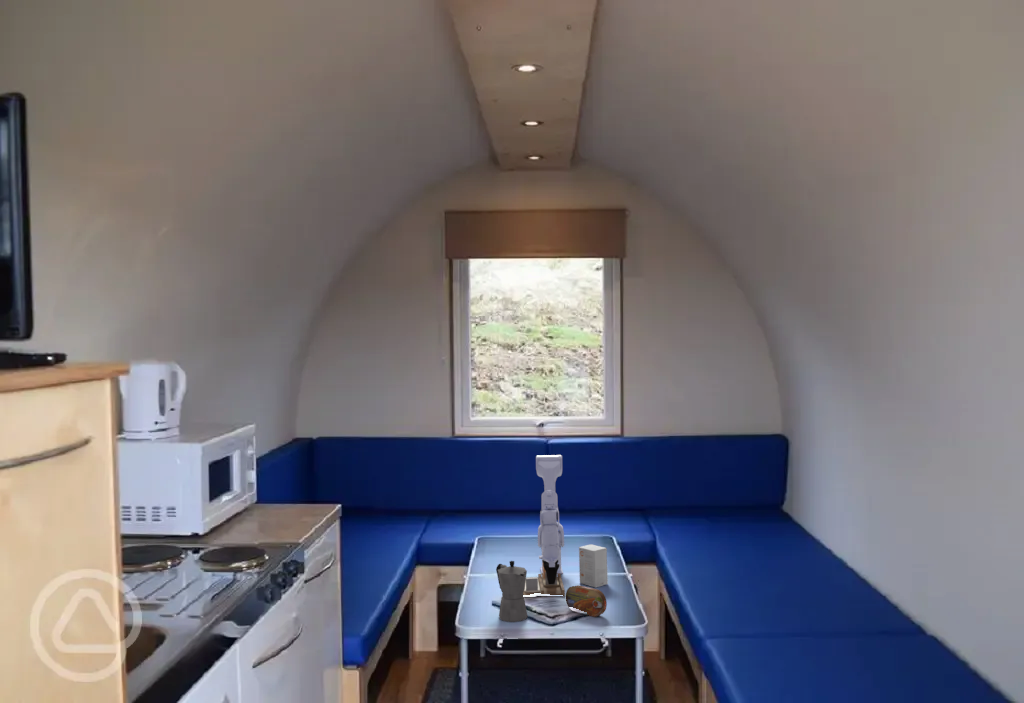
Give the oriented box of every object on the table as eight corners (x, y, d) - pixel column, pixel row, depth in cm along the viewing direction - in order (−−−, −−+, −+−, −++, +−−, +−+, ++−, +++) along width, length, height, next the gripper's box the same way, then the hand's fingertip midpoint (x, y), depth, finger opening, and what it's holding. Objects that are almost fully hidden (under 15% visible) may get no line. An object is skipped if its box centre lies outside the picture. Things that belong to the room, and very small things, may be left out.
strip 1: (522, 579, 314) (522, 567, 314) (537, 579, 314) (537, 566, 314) (524, 592, 299) (523, 579, 299) (540, 592, 299) (539, 578, 299)
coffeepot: (537, 619, 275) (536, 562, 274) (512, 626, 269) (510, 568, 269) (510, 607, 287) (509, 552, 287) (485, 613, 282) (484, 557, 282)
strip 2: (541, 574, 320) (541, 562, 320) (556, 574, 321) (555, 561, 320) (543, 586, 305) (543, 573, 305) (559, 586, 306) (558, 573, 305)
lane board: (519, 580, 317) (518, 574, 317) (560, 579, 318) (560, 573, 318) (520, 597, 297) (520, 591, 297) (564, 596, 298) (564, 589, 298)
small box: (608, 584, 310) (607, 547, 310) (595, 588, 306) (594, 551, 306) (591, 579, 317) (591, 543, 316) (579, 583, 313) (578, 546, 312)
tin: (565, 609, 284) (564, 584, 283) (571, 607, 286) (570, 581, 286) (602, 619, 274) (601, 592, 273) (608, 617, 276) (608, 590, 276)
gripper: (537, 538, 313) (538, 576, 314) (539, 549, 299) (540, 588, 299) (557, 538, 313) (558, 576, 314) (560, 548, 299) (561, 588, 299)
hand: (551, 582), depth 307 cm, fingers open, 3 cm apart
